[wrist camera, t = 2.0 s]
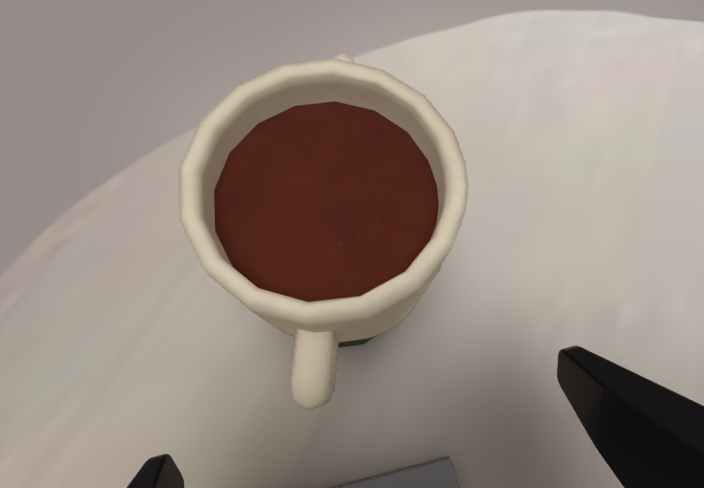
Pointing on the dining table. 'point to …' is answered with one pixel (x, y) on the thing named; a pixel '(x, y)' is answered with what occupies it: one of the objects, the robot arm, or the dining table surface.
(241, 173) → the character mug
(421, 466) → the placemat
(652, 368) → the dining table surface
